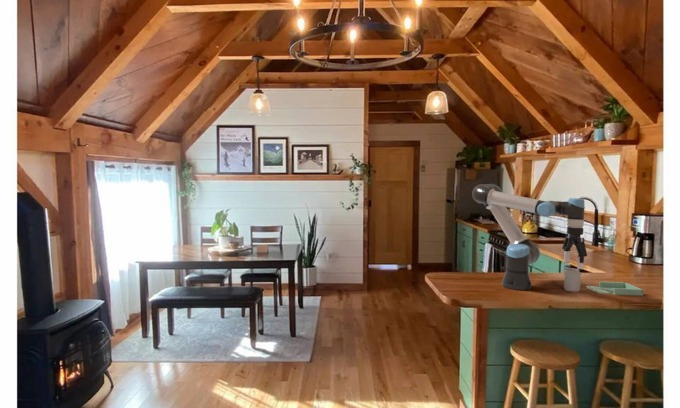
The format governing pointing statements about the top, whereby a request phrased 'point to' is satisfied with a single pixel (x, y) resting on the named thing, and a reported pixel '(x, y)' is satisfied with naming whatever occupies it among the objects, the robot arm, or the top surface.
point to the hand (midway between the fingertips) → (573, 265)
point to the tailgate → (598, 290)
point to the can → (572, 280)
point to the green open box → (620, 288)
